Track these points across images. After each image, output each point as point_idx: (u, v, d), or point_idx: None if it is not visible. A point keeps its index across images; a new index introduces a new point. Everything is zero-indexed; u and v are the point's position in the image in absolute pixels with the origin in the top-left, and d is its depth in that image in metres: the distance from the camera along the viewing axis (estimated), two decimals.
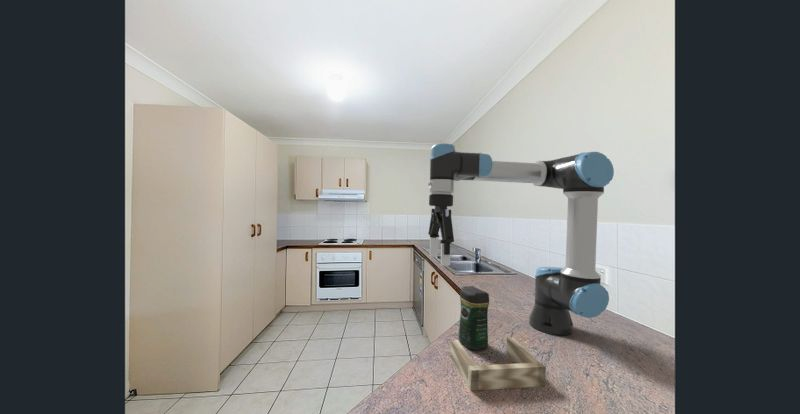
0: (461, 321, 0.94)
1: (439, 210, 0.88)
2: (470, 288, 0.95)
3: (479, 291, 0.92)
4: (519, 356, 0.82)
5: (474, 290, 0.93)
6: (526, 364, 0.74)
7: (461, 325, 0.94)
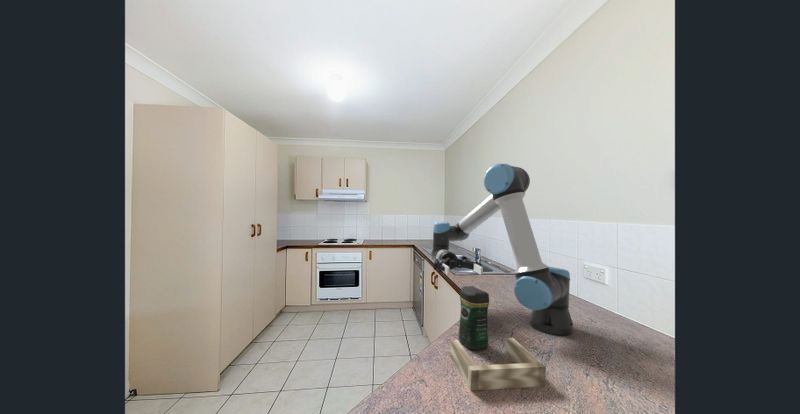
0: (461, 321, 0.94)
1: None
2: (470, 288, 0.95)
3: (479, 291, 0.92)
4: (519, 356, 0.82)
5: (474, 290, 0.93)
6: (526, 364, 0.74)
7: (461, 325, 0.94)
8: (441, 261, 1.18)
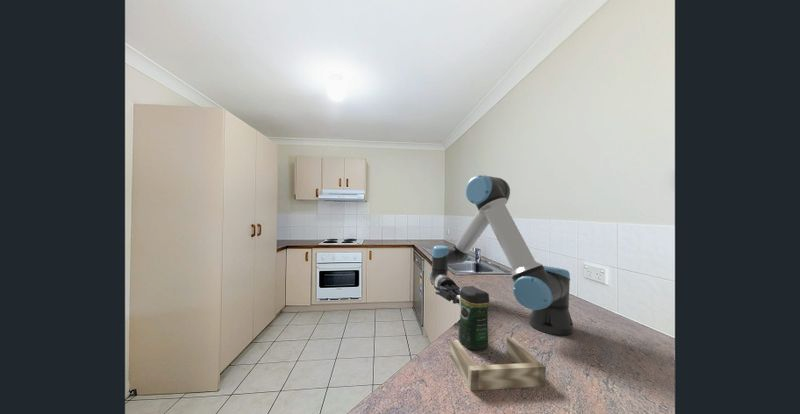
0: (461, 321, 0.94)
1: None
2: (470, 288, 0.95)
3: (479, 291, 0.92)
4: (519, 356, 0.82)
5: (474, 290, 0.93)
6: (526, 364, 0.74)
7: (461, 325, 0.94)
8: (441, 289, 1.18)
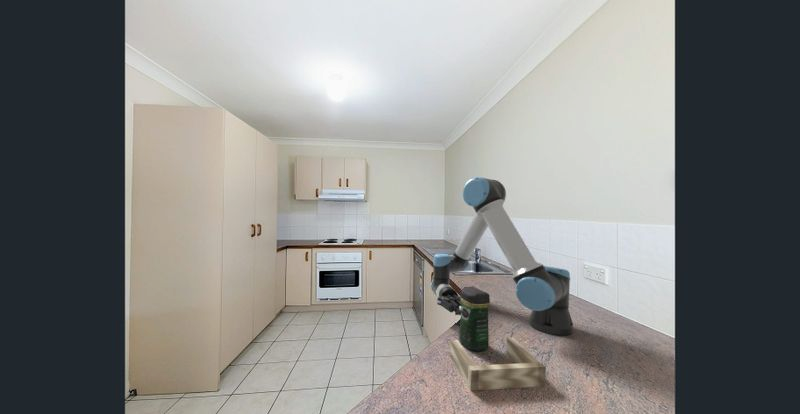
0: (461, 322, 0.94)
1: None
2: (470, 288, 0.94)
3: (479, 291, 0.91)
4: (519, 356, 0.82)
5: (474, 290, 0.92)
6: (526, 364, 0.74)
7: (461, 326, 0.94)
8: None
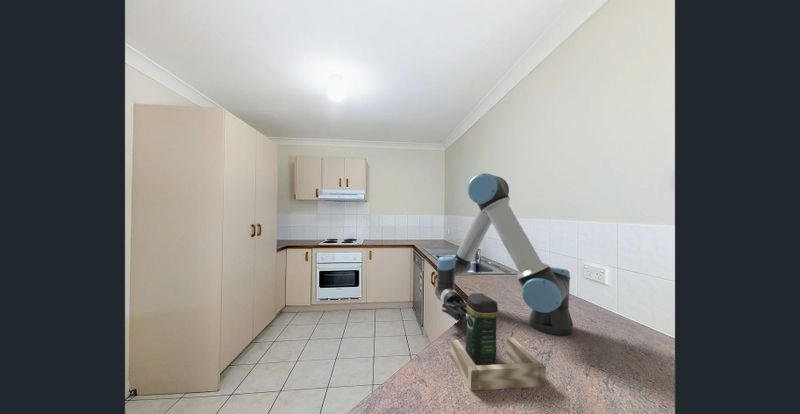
0: (467, 331, 0.87)
1: None
2: (477, 295, 0.87)
3: (486, 299, 0.84)
4: (519, 356, 0.82)
5: (481, 298, 0.85)
6: (526, 364, 0.74)
7: (467, 335, 0.87)
8: (448, 306, 1.07)
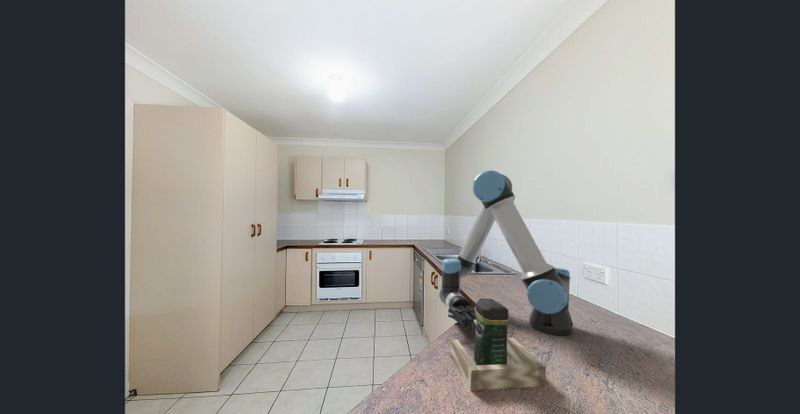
0: (476, 338, 0.82)
1: None
2: (487, 301, 0.82)
3: (496, 305, 0.79)
4: (519, 356, 0.82)
5: (490, 304, 0.80)
6: (526, 364, 0.74)
7: (476, 343, 0.82)
8: (454, 311, 1.02)
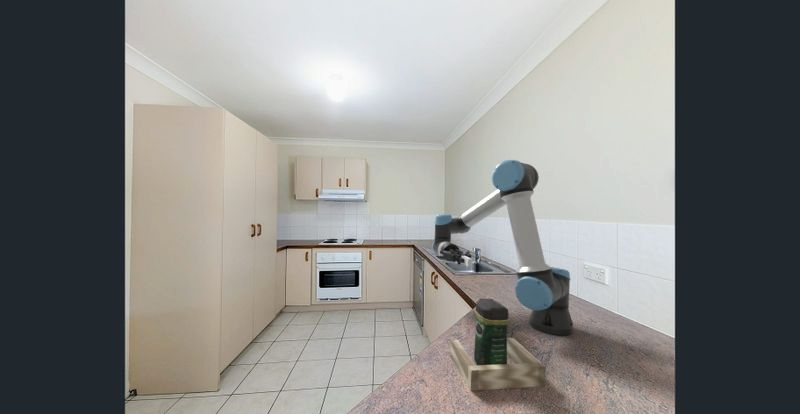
0: (476, 338, 0.82)
1: None
2: (487, 301, 0.82)
3: (496, 305, 0.79)
4: (519, 356, 0.82)
5: (490, 304, 0.80)
6: (526, 364, 0.74)
7: (476, 343, 0.82)
8: None
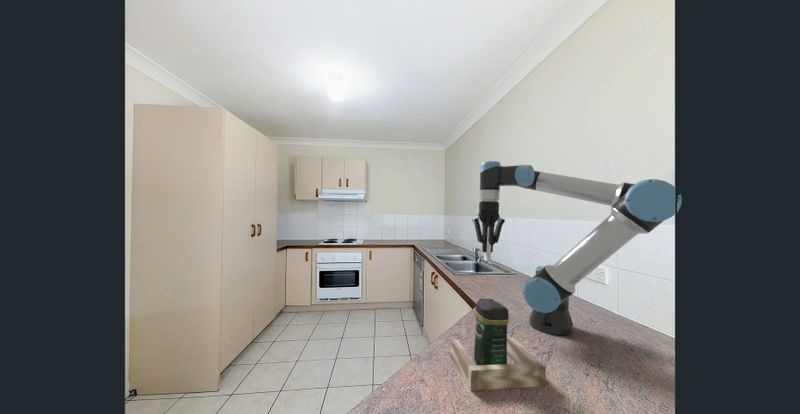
0: (476, 338, 0.82)
1: None
2: (487, 301, 0.82)
3: (496, 305, 0.79)
4: (519, 356, 0.82)
5: (490, 304, 0.80)
6: (526, 364, 0.74)
7: (476, 343, 0.82)
8: (479, 218, 1.12)
